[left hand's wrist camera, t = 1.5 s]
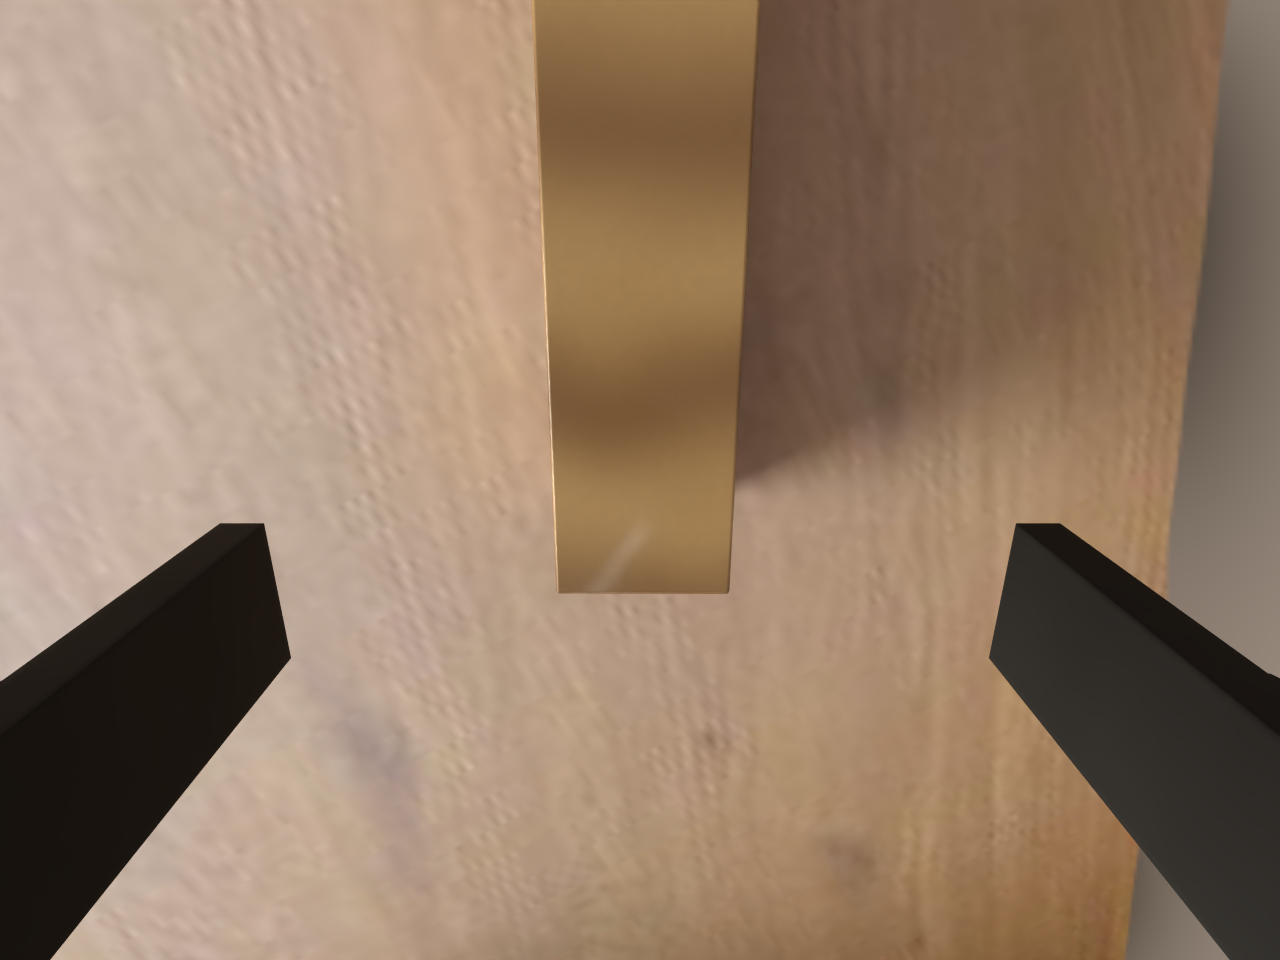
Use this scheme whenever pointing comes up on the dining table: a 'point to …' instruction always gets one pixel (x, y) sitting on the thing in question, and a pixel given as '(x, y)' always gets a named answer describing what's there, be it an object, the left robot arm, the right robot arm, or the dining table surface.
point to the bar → (644, 282)
